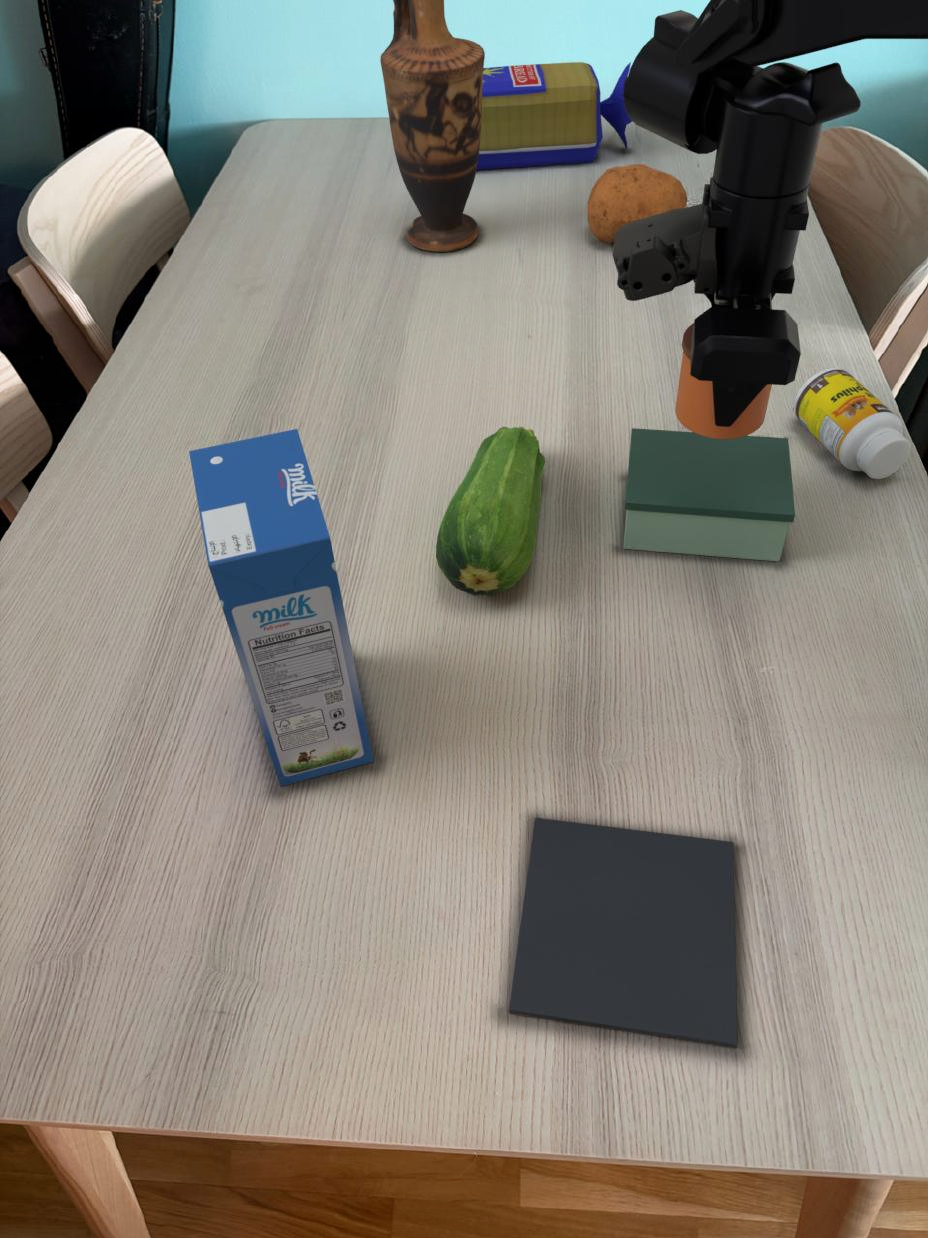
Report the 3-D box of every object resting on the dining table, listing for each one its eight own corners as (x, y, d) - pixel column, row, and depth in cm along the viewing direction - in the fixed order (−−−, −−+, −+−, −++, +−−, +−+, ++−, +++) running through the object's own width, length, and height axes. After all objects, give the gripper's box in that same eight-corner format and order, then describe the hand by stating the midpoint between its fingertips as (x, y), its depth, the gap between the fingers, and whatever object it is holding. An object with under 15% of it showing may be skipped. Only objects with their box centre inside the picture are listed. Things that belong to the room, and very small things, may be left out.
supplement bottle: (856, 360, 84) (931, 426, 78) (835, 415, 88) (905, 482, 81) (801, 368, 83) (873, 436, 76) (782, 423, 87) (849, 492, 80)
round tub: (764, 389, 73) (780, 316, 68) (768, 443, 68) (785, 369, 64) (674, 384, 74) (683, 312, 69) (671, 437, 69) (681, 364, 65)
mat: (732, 846, 59) (733, 841, 58) (736, 1048, 51) (737, 1045, 50) (535, 821, 61) (535, 817, 60) (508, 1013, 53) (508, 1010, 52)
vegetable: (446, 525, 67) (506, 369, 80) (408, 585, 72) (471, 429, 86) (539, 573, 68) (583, 411, 81) (495, 629, 73) (544, 468, 87)
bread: (441, 145, 133) (436, 62, 126) (622, 133, 133) (628, 50, 126) (444, 176, 126) (440, 91, 119) (635, 163, 126) (642, 77, 119)
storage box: (776, 486, 81) (788, 437, 78) (782, 563, 75) (795, 514, 71) (626, 475, 83) (631, 427, 80) (620, 550, 77) (625, 502, 73)
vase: (507, 239, 114) (504, -69, 92) (429, 267, 110) (406, -47, 88) (455, 207, 120) (440, -88, 98) (380, 233, 116) (347, -68, 94)
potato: (585, 217, 117) (588, 152, 111) (680, 216, 116) (688, 151, 110) (586, 253, 110) (589, 187, 105) (686, 253, 109) (695, 186, 104)
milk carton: (373, 762, 64) (330, 537, 49) (280, 787, 63) (208, 565, 48) (343, 654, 71) (296, 427, 56) (258, 675, 70) (188, 449, 55)
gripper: (634, 116, 66) (617, 324, 77) (616, 245, 54) (600, 470, 65) (803, 119, 64) (761, 331, 76) (826, 253, 52) (772, 482, 63)
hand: (722, 397), depth 70 cm, fingers closed on round tub, 6 cm apart
